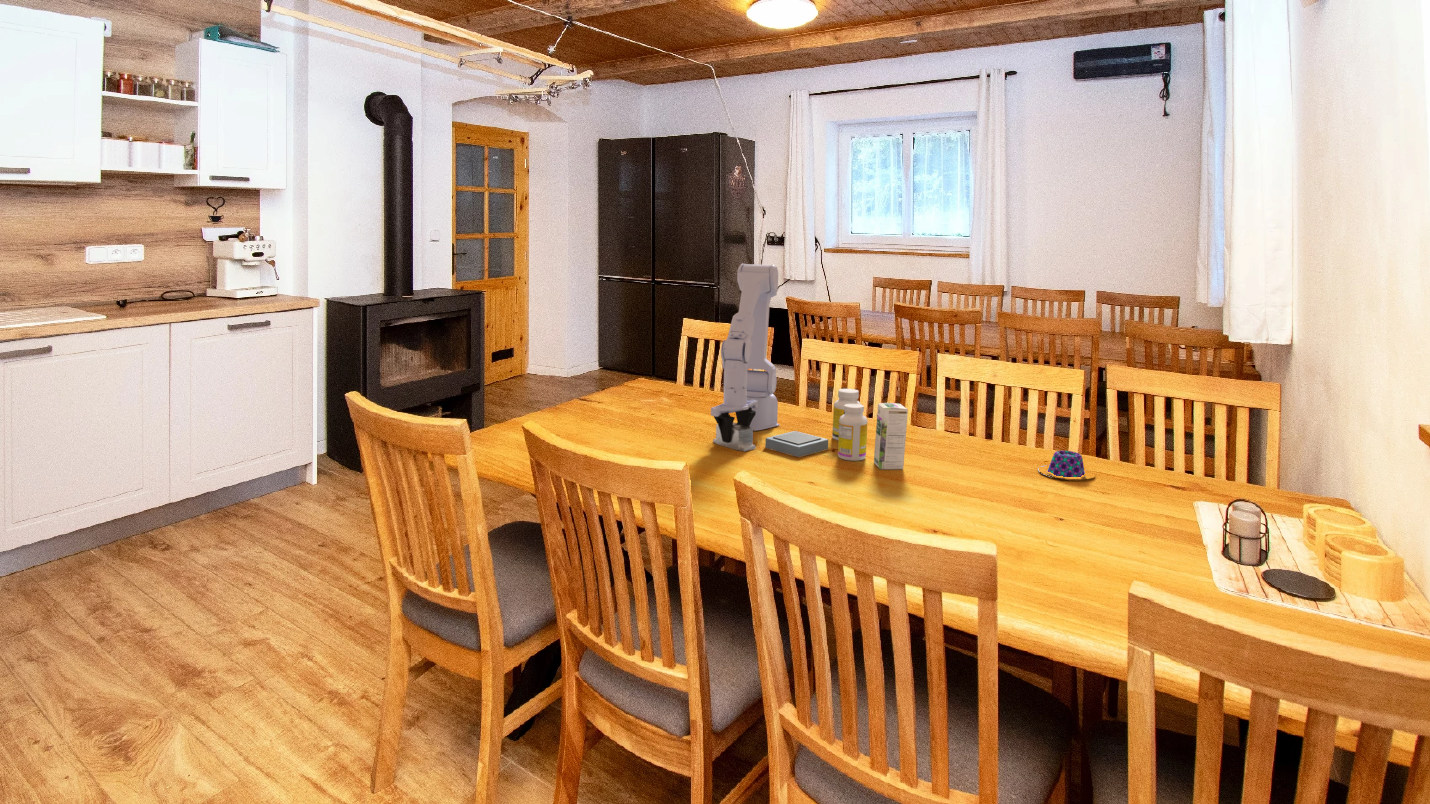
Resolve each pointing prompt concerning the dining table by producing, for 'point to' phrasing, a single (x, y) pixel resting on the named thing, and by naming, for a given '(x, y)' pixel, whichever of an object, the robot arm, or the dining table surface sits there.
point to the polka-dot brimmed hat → (1066, 464)
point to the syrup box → (890, 436)
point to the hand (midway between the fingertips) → (734, 440)
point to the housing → (737, 438)
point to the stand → (796, 443)
